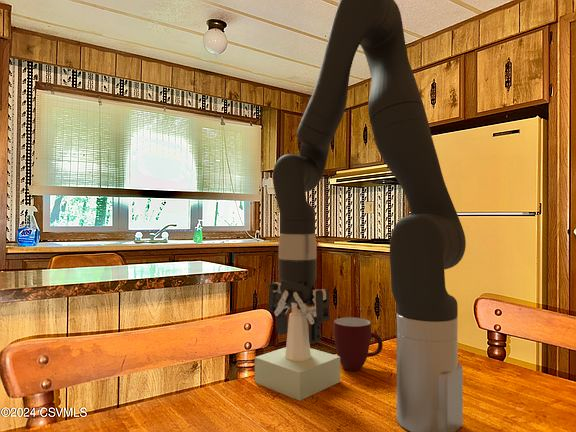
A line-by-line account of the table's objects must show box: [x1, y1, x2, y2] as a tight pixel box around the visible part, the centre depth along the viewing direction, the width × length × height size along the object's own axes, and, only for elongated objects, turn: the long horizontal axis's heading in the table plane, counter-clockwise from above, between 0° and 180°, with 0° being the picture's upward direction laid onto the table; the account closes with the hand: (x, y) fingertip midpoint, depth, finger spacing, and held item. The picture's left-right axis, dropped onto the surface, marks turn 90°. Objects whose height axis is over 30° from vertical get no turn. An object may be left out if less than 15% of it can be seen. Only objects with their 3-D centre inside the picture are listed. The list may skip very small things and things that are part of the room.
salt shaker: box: [285, 302, 311, 361], centre depth 84 cm, size 5×5×11 cm
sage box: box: [254, 346, 341, 402], centre depth 84 cm, size 12×12×5 cm
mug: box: [333, 316, 384, 372], centre depth 92 cm, size 10×8×10 cm
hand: (297, 338), depth 84 cm, fingers open, 8 cm apart
